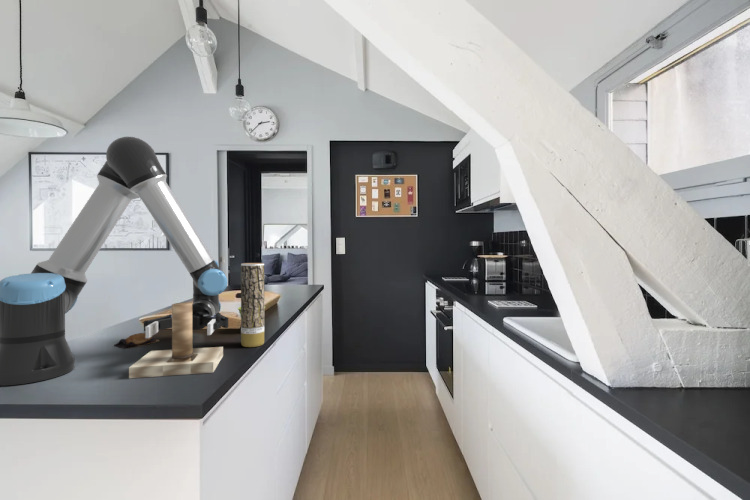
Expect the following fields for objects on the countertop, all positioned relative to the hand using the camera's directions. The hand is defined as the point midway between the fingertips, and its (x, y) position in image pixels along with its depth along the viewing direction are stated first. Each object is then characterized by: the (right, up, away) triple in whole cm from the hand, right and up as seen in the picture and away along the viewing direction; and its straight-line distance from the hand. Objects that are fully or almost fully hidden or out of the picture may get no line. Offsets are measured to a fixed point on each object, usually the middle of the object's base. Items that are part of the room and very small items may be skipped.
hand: (178, 331), depth 90 cm
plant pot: (+3, -10, +43) cm, 45 cm away
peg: (-1, -10, +3) cm, 11 cm away
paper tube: (+10, -10, +25) cm, 29 cm away
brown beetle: (-27, -10, +27) cm, 40 cm away
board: (-2, -10, +5) cm, 11 cm away
